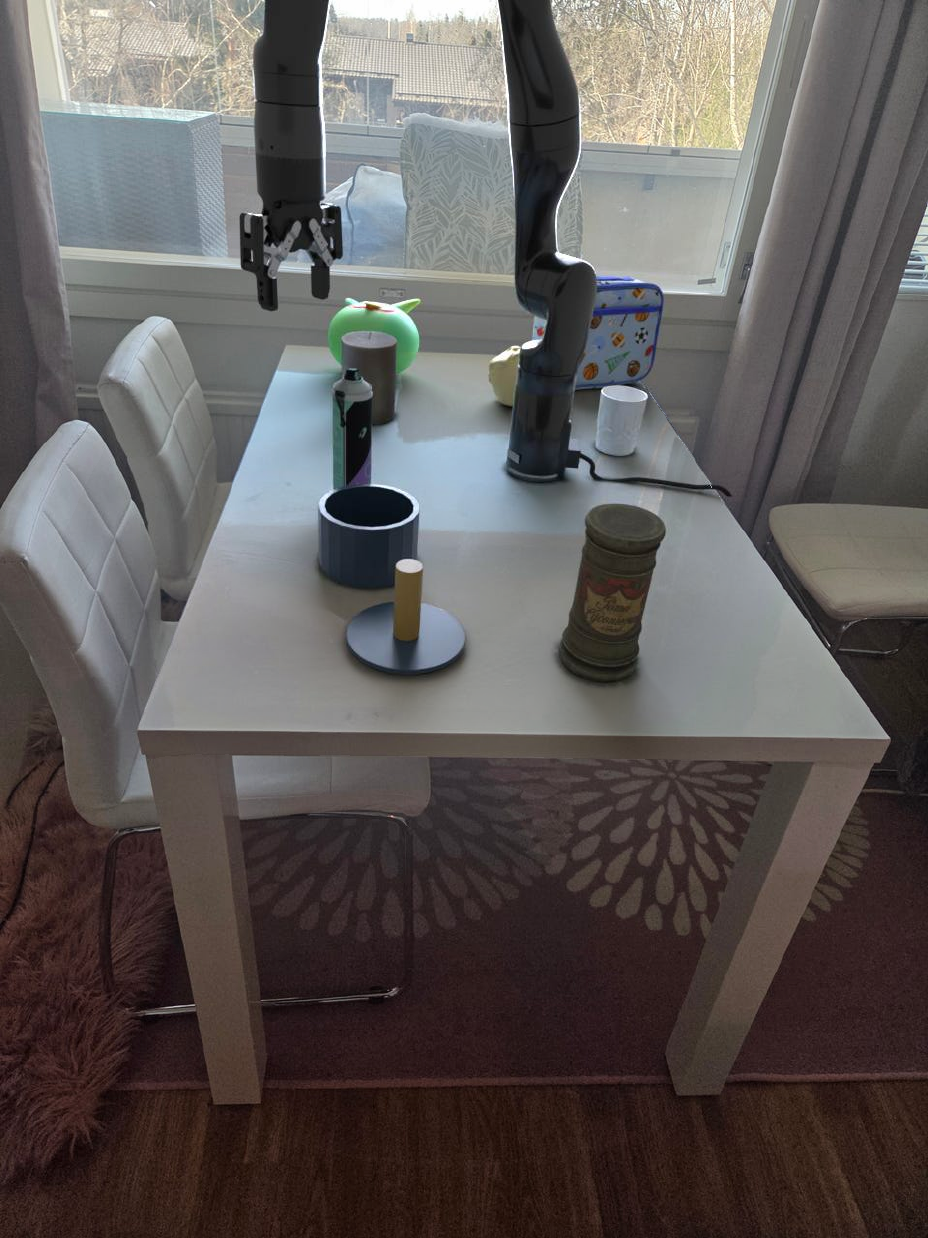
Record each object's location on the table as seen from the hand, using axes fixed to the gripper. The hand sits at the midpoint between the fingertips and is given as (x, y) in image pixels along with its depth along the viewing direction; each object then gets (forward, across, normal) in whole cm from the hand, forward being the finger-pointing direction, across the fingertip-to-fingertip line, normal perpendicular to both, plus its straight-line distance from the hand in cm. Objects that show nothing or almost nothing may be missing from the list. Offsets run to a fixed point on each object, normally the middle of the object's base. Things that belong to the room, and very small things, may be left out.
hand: (295, 303), depth 103 cm
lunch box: (+30, +85, +1) cm, 90 cm away
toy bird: (+30, +56, +35) cm, 73 cm away
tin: (+30, -2, -13) cm, 33 cm away
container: (+30, 0, -47) cm, 56 cm away
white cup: (+30, +58, -19) cm, 68 cm away
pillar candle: (+30, +38, +21) cm, 53 cm away
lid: (+29, -12, -28) cm, 42 cm away
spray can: (+30, +10, 0) cm, 32 cm away
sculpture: (+30, +64, +5) cm, 71 cm away
